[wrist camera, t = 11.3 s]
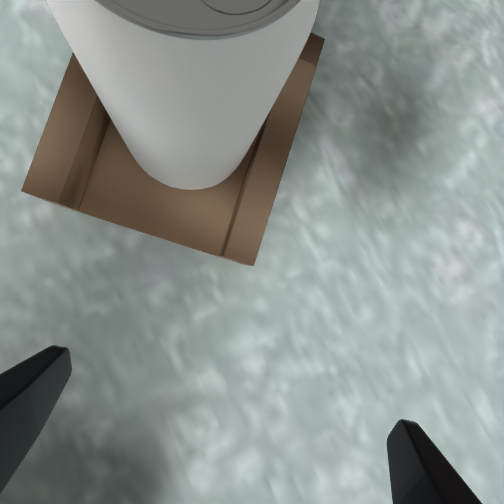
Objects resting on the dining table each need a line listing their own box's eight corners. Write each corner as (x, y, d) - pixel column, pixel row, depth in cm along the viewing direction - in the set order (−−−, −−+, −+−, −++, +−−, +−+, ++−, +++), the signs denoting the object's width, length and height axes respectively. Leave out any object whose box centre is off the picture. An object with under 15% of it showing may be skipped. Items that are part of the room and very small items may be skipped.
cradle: (242, 264, 19) (253, 265, 16) (53, 203, 17) (21, 191, 14) (302, 75, 20) (324, 39, 16) (128, -3, 18) (114, -61, 15)
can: (180, 216, 17) (162, 132, 6) (98, 118, 17) (-121, -214, 5) (271, 145, 18) (415, -54, 7) (196, 49, 18) (210, -364, 6)
